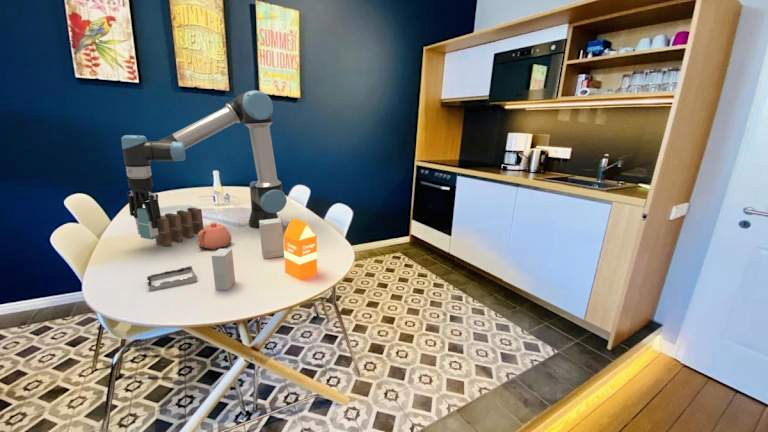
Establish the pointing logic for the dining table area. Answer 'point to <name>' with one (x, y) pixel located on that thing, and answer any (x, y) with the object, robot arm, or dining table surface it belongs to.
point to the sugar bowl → (214, 236)
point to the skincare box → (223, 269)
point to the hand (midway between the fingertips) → (148, 234)
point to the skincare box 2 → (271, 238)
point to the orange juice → (300, 250)
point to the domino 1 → (144, 223)
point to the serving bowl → (174, 209)
